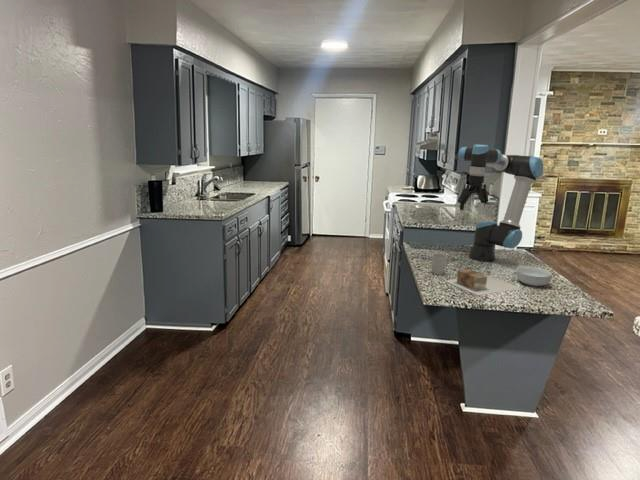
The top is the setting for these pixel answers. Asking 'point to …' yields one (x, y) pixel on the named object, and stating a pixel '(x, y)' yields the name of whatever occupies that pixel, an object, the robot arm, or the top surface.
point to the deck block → (471, 279)
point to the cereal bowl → (533, 276)
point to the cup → (438, 263)
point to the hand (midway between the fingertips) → (471, 215)
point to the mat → (491, 286)
